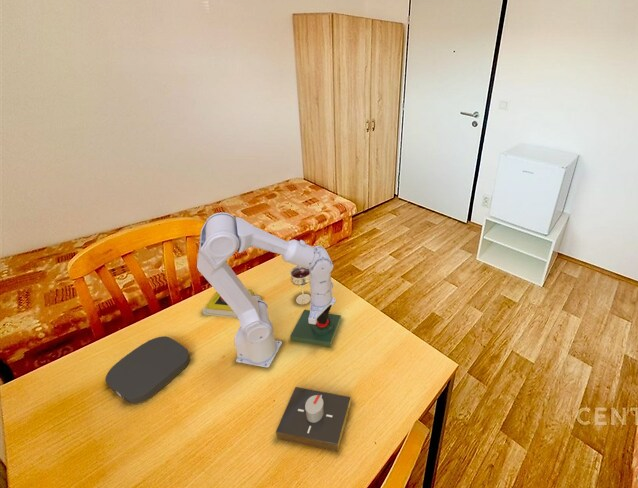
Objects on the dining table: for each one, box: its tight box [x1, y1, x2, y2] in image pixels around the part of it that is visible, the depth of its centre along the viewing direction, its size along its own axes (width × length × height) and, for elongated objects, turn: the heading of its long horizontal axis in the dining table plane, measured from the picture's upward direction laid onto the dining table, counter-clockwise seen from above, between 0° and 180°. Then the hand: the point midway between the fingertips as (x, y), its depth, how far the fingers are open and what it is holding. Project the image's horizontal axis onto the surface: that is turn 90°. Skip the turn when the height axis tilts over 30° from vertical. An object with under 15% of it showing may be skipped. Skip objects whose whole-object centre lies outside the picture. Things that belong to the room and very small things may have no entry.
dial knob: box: [305, 395, 324, 423], centre depth 72 cm, size 4×4×4 cm
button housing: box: [290, 309, 342, 348], centre depth 96 cm, size 12×10×4 cm
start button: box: [317, 319, 329, 328], centre depth 95 cm, size 4×4×2 cm
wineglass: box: [289, 265, 311, 305], centre depth 105 cm, size 7×7×12 cm
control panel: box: [275, 386, 352, 452], centre depth 73 cm, size 14×10×3 cm
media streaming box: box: [105, 336, 191, 405], centre depth 81 cm, size 15×15×3 cm
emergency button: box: [201, 288, 262, 319], centre depth 102 cm, size 9×4×15 cm
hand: (322, 321), depth 95 cm, fingers closed, pressing on start button
